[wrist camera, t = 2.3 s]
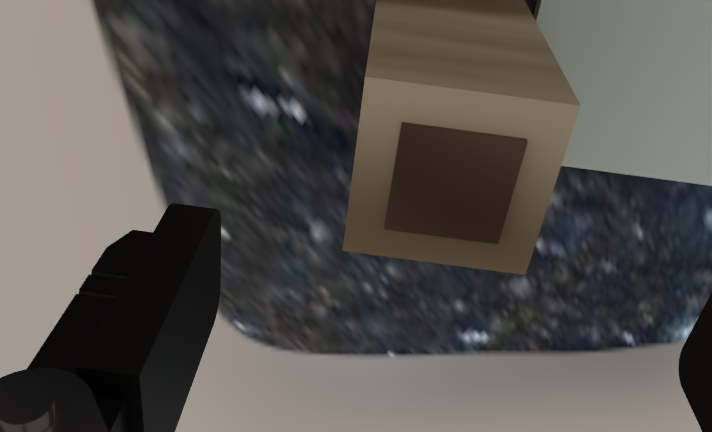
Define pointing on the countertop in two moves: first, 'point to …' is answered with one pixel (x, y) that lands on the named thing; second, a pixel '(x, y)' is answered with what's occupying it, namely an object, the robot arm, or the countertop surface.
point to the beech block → (457, 134)
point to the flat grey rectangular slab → (636, 84)
